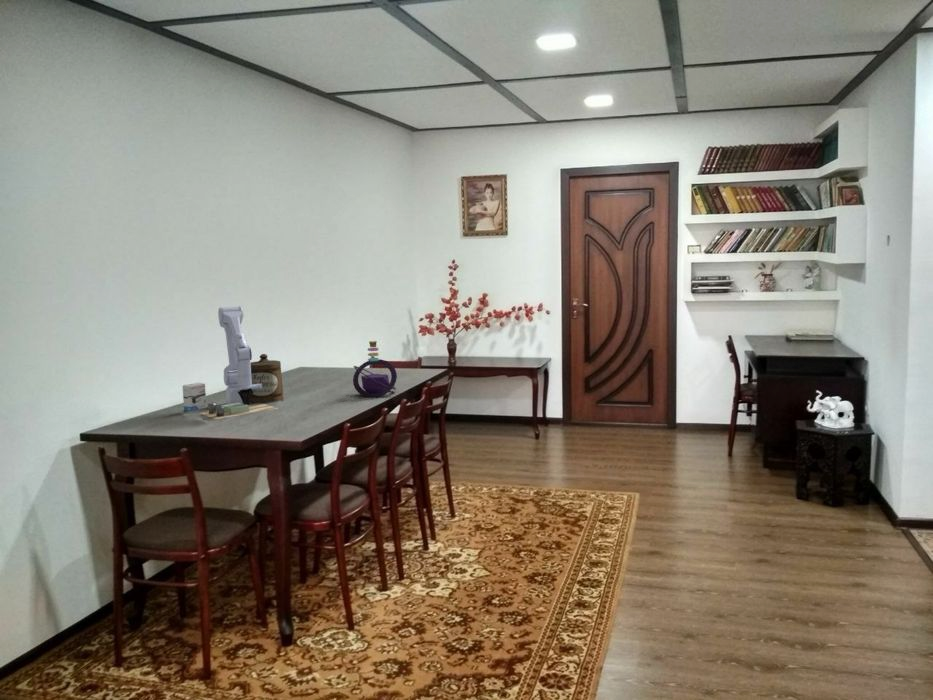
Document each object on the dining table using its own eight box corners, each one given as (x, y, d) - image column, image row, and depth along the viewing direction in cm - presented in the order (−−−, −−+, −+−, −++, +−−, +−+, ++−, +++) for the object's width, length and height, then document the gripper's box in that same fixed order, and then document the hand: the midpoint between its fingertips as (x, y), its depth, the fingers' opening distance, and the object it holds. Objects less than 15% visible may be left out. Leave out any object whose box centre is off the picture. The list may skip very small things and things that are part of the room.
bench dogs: (207, 413, 321) (207, 403, 321) (214, 412, 323) (213, 402, 323) (218, 416, 313) (217, 407, 313) (225, 415, 315) (224, 406, 315)
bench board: (198, 415, 323) (198, 413, 323) (260, 405, 341) (260, 403, 341) (216, 421, 309) (215, 419, 309) (279, 410, 327) (279, 408, 327)
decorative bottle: (344, 397, 353) (341, 344, 350) (361, 389, 373) (359, 338, 370) (390, 398, 347) (388, 343, 344) (405, 390, 368) (403, 338, 365)
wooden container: (245, 405, 342) (242, 356, 339) (255, 399, 357) (252, 352, 354) (278, 404, 342) (275, 355, 339) (287, 398, 356) (284, 351, 354)
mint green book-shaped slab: (221, 411, 325) (220, 405, 325) (239, 408, 330) (238, 402, 330) (231, 414, 317) (231, 408, 317) (249, 411, 323) (249, 405, 322)
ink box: (191, 413, 328) (189, 386, 327) (183, 412, 331) (181, 385, 329) (207, 409, 335) (205, 382, 334) (199, 408, 338) (197, 382, 336)
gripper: (232, 378, 317) (234, 411, 319) (264, 374, 327) (266, 405, 328) (225, 377, 323) (227, 408, 324) (257, 372, 332) (259, 403, 334)
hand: (246, 407), depth 327 cm, fingers closed
